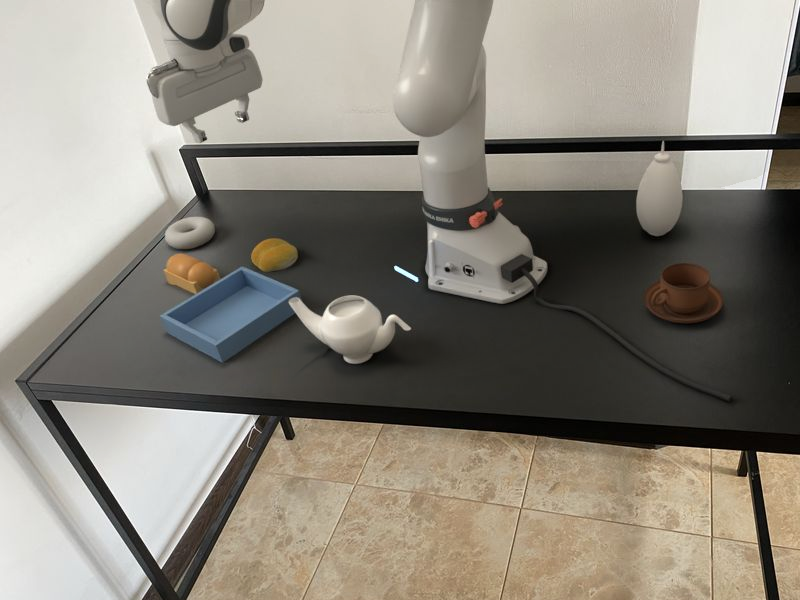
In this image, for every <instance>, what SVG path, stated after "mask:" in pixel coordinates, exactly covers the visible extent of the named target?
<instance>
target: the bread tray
mask: <svg viewBox="0 0 800 600" xmlns="http://www.w3.org/2000/svg"><path fill="white" fill-rule="evenodd" d="M295 297H297V298H299V299H300V300H301V301H302V302H303V299H302V296H301V292H300V290H299V289H297V288H295V287H292V286H290V285H289V284H288V285H287V284H285V283H283V282H280V281H278V280H275V279H273V278H271V277H269V276H266V275H263V274H261V273H258V272H256V271H255V270H251V269H250V268H247V267H245V266H240V267H239V268H237V269H235V270H233V271H232V272H230V273H229V274H227V275H225V276H223V277H221V278H220V280H219V281H217V282H215V283H214V284H212V285H210V286H209V287H207V288H205V289H204V290H202V291H200V292H199V293H197V294H194V295H192V296H191V297H189V298H187V299H185V300H184V301H182V302H180V303H179V304H177V305H175V306H174V307H172V308H170V309H169V310H167V311H166V312H164V313H162V314H160V315H159V319H160V320H161V322H162V324H163V326H164V329H165V332H166V333H167V334H169V335H171V336H172V337H174V338H176V339H177V340H180V341H181V342H183V343H185V344H186V345H189V346H191V347H193V348H195V349H196V350H198V351H200V352H202V353H204V354H206V355H207V356H209V357H211V358H213V359H215V360H217V361H219V362H220V363H224V362H226V361H228V360H229V359H231V358H233V356H235V355H236V354H238V353H239V352H241V351H242V350H244V349H245V348H247V347H248V346H250V345H252V343H254V342H256V341H257V340H258V339H260V338H261V337H262V336H264V335H266V334H267V333H269V332H270V331H271V330H273V329H274V328H276V327H277V326H279V325H280V324H282V323H283V322H285V321H286V320H288V319H289V318H290V317H292V316H293V315H295V314H296V313H295V312H294V310H293V309H292V307H291V306H290V304H289V300H290V299H291V298H295Z"/></svg>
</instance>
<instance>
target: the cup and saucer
mask: <svg viewBox="0 0 800 600" xmlns="http://www.w3.org/2000/svg"><path fill="white" fill-rule="evenodd" d="M710 281H711V274H710V272H709V270H708V269H707V268H705V266H701V265H699V264H697V263H692V262H677V263H672V264H670V265H667V266H666V267H664V268H663V269H662V270H661V274H660V280H657V281H656V282H653V283H652V284H651V285H650V286H649V287H648V288H646V290H645V292H644V296H643V299H644V303H645V306H646V307H647V309H648V310H649V311H650V312H651V313H652V314H654V315H655V316H657V317H658V318H661V319H662V320H665V321H668V322H671V323H677V324H694V323H700V322H703V321H706V320H708V319H710V318H713V317H714V316H716V315H717V314H718V313H719V312H720V311H721V309H722V308H723V304H724V297H723V294H722V293H721V291H720V290H719V289H718V288H717V287H716V286H715V285H713V284H712V283H711V282H710Z"/></svg>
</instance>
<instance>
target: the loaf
mask: <svg viewBox="0 0 800 600" xmlns="http://www.w3.org/2000/svg"><path fill="white" fill-rule="evenodd" d="M162 270H163V273H164V275H165V276H164V277H166V281H167V283H168V284H169V285H172V286H178V287H179V288H182V289H183V290H185V291H187V292H189V293H192V294H194V295H195V294H197V293H199V292H200V291H202V290H204V289H205V288H207V287H209V286H210V285H212V284H214V283H215V282H217V281H219V280H220V279H221V276H220V273H219V271H218V270H219V269H216V268H214V267H212V265H210V264H208V263H207V262H205V261H202V260H200V259H198V258H196V257H193V256H191V255H188V254H186V253H176V254H173V255H172V256H170V258H169V259H168V260H167V261H166V268H164V269H162Z"/></svg>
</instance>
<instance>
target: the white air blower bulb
mask: <svg viewBox="0 0 800 600" xmlns="http://www.w3.org/2000/svg"><path fill="white" fill-rule="evenodd" d="M660 148H661V149H660V152H658V153H656V154H655V155H654V156H653V160H652V161H651V162H650V164H649V165H648V166H647V168H646V170H645V171H644V173H643V175H642V177H641V180H640V183H639V185H638V189H637V194H636V200H635V201H636V202H635V205H636V206H635V208H636V209H635V211H636V216H637V219H638V222H639V224H640V226H641V228H642V229H643V230H644V231H645V232H647V233H648V235H651V236H654V237H660V236H664V235H666V234H667V233H669V232H670V231H671V230H672V229H673V228H674V227H675V226H676V224H677V222H678V221H679V218H680V216H681V212H682V209H683V208H682V207H683V199H684V198H683V188H682V182H681V178H680V175H679V173H678V172H679V171H678V170H677V168H676V165H675V164H674V163H673V161H672V160H671V155H670V154H669V153H666V152H665V141H664V140H662V143H661V147H660Z"/></svg>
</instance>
